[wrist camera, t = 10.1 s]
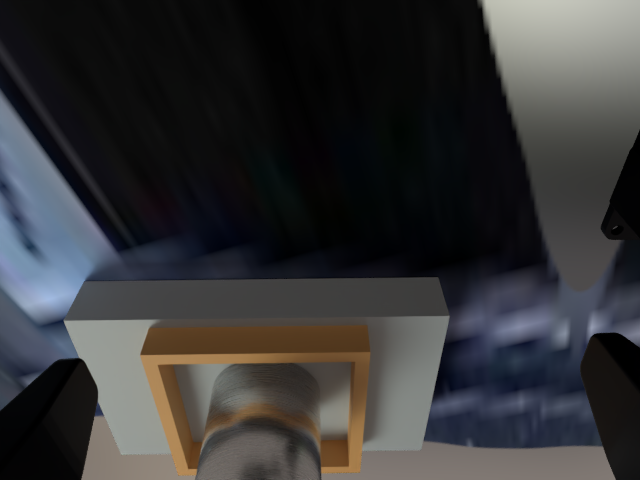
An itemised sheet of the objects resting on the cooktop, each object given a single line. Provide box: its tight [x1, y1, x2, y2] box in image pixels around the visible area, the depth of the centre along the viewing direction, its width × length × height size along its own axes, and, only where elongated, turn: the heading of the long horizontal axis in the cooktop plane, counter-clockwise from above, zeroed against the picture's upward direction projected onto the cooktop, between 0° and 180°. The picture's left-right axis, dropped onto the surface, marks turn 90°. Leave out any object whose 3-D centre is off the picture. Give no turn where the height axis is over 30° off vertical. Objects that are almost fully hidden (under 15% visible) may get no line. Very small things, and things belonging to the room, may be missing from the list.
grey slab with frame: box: [64, 277, 450, 475], centre depth 25 cm, size 16×10×4 cm, turn 90°
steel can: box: [195, 363, 321, 480], centre depth 23 cm, size 5×5×6 cm
